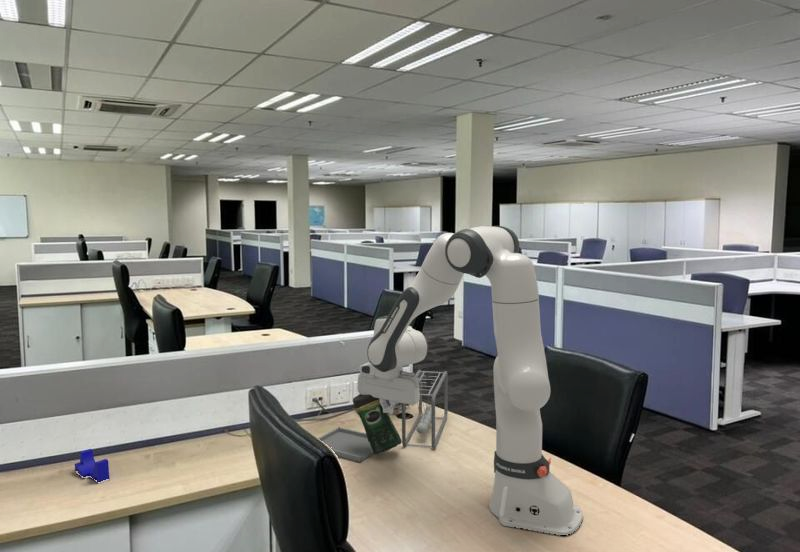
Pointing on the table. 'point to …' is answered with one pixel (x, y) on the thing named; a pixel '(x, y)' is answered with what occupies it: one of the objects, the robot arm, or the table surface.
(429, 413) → the newton's cradle
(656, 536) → the table surface
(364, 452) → the shallow gray tray
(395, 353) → the robot arm
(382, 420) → the coffee jar
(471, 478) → the table surface
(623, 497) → the table surface
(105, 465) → the cable clip
